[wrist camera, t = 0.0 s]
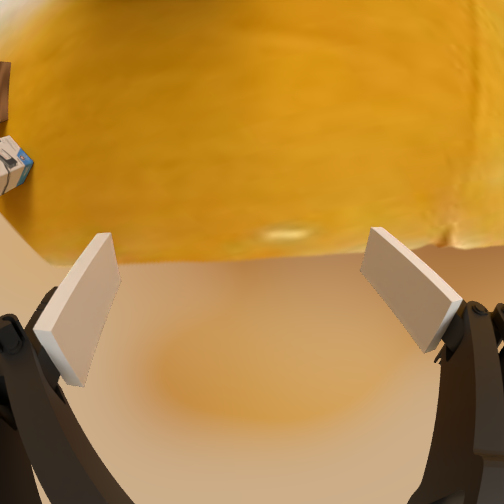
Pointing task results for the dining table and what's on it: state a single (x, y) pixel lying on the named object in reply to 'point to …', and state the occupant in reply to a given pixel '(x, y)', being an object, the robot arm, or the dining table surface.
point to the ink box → (12, 165)
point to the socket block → (4, 89)
